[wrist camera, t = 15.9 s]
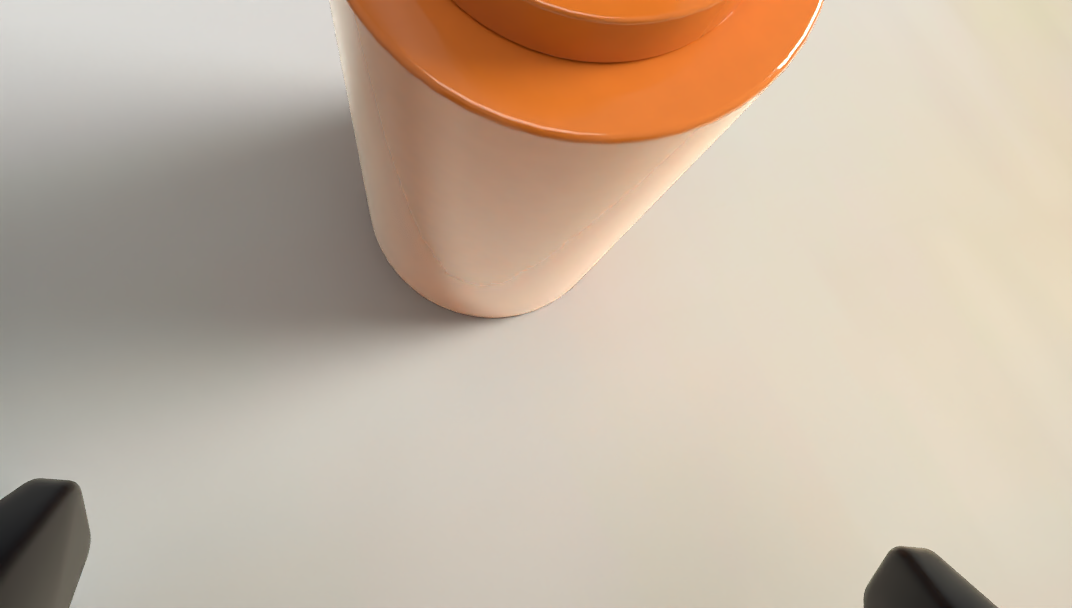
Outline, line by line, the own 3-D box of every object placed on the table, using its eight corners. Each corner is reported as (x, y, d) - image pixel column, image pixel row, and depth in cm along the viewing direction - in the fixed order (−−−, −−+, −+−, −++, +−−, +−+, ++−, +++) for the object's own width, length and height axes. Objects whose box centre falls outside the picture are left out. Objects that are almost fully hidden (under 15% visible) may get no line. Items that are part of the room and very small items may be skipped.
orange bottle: (640, 275, 18) (1130, -100, 6) (414, 351, 17) (410, 87, 5) (560, 64, 19) (842, -682, 6) (337, 124, 18) (156, -639, 5)
